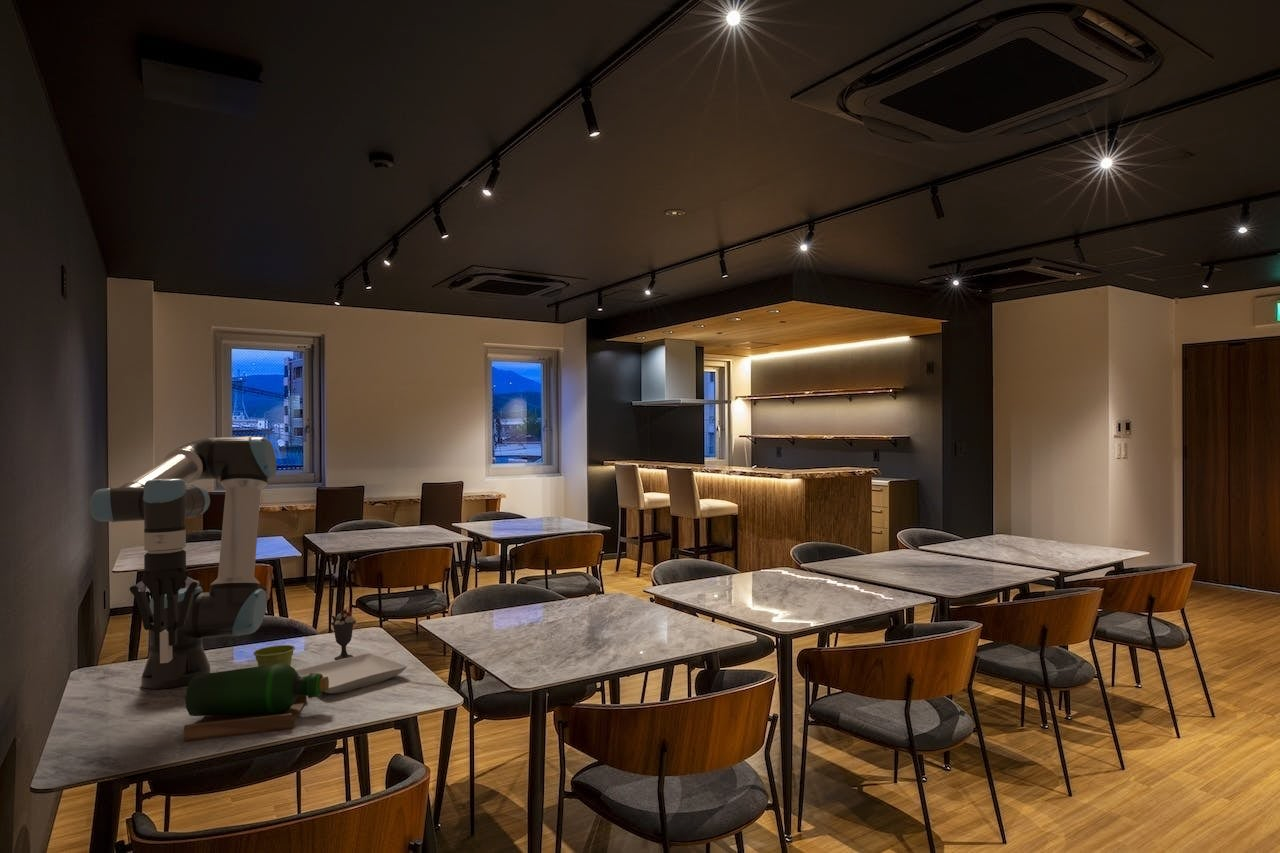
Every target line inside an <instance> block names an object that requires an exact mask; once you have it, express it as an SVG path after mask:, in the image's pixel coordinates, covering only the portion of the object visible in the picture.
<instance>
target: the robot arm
mask: <svg viewBox="0 0 1280 853" xmlns="http://www.w3.org/2000/svg"><path fill="white" fill-rule="evenodd" d="M276 472H277V458H276V451H275V449H274V445H273V444H272V443H271V441H270V440H269V439H268V438H267V437H265V436H252V435H249V436H231V437H229V436H228V437H227V436H226V437H225V436H224V437H216V436H215V437H205V438H202V439H201V438H200V439H197V440H193V441H191V442H189V443H187V444H184V445H182V446H180V447H178V448H176V449H173V450H171V451H170V452H168V454H167V455H166V456H165V457H164V459H163V461H161V462H160V463H158V464H157V465H154V466H153V467H151V468H150V469H148V470H145V471H144V472H142V473H141V474H139V475H138V476H136V477H134V478H133V479H131V480H129V481H128V482H126V483H124V484H123V485H121V486H118V487H108V488H107V487H106V488H100V489H96V490H95V491H94V492H93V494H92V495H91V497H90V500H89V511H90V514H91V516H92V518H93V519H94V520H95V521H97V522H105V523H106V522H108V523H109V522H111V523H116V522H117V523H120V522H136V521H139V522H141V521H143V524H144V525H143V528H144V529H143V543H144V544H143V546H144V547H143V548H144V551H145V552H146V553H145V554H144V555H143V559H144V561H143V563H144V564H143V565H144V567H143V568H144V573H143V576H142V577H141V581H139V582H137V583H136V584H134V585H132V586H130V587H129V592H130V593H131V594H132V595H133V596H134V598H135V601H136V604H137V608H138V611H139V615H140V619H141V622H142V625H143V628H144V630H146V631H148V632H149V633H148V635H149V636H148V638H149V639H148V640H149V641H148V642H149V652H148V653H149V655H148V656H147V657H148V658H147V659H146V662H145V667H144V668H143V672H142V675H141V687H142V688H144V689H148V690H149V689H151V690H163V689H171V688H177V687H183V686H188V685H189V682H190V681H191V679H192V678H193V677H194V676H195V675H200V674H208V673H211V664H210V661H209V659H208V657H207V654H206V652H205V649H204V647H203V638H205V639H206V638H207V639H208V638H220V637H221V638H222V637H239V636H244V635H250V634H253V633H255V632H256V631H258V629H259V628H260V627H261V625H262V624H263V621H264V618H265V615H266V612H267V606H268V605H267V604H268V599H267V597H268V595H267V592H266V590H265V589H263V588H261V583H260V581H259V580H258V579H257V578H256V577H255V570H256V569H255V568H256V557H257V546H258V545H257V544H258V531H259V518H260V517H259V516H260V506H261V494H262V493H261V492H262V490H263V489H264V488H265V487H267V486H268V480H269V479H272V478H274V477H275V476H276ZM197 480H198V481H199V480H220V481H219V484H220V485H221V486H222V487H223V488H224V490H225V494H224V504H223V505H224V507H223V514H222V515H223V516H222V530H221V540H220V548H219V549H220V551H219V562H218V572H217V578H216V579H215V580H214V581H212V582H211V583H210V587H209V591H207V592H203V591H204V590H203V588H202V587H201V581H200V580H198V579H197V580H195V579H193V578H191V577H189V575H190V574H189V573H188V571H187V551H186V550H185V549H184V548H186V547H187V541H186V540H187V535H186V531H187V530H186V522H187V521H186V519H194V518H198V516H200V515H203V514H204V513H206V511H208V509H209V507H210V504H211V498H210V494H209V492H208V491H207V489H206V488H204V487H202V486H200V485H195V484H191V483H193V482H195V481H197ZM184 585H185V587H184ZM182 587H184V588H182ZM147 589H148V590H149V591H150V593H151V594H152V598H151V599H150V601H149V598H148V596H147V593H146V590H147Z"/></svg>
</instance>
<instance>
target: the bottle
mask: <svg viewBox="0 0 1280 853" xmlns="http://www.w3.org/2000/svg"><path fill="white" fill-rule="evenodd" d="M296 671H297V670H296V669H295V667H293V666H289V665H287V664H285V663H281V664H274V665H266V666H259V667H258V666H253V667H245V668H239V669H238V668H237V669H232V670H231V669H230V670H223V671H222V670H221V671H216V672H210V673H208V674H200V675H195V676H194V677H193V678H192V679H191V681H190V682H189V684H188V685H187V687H186V690H185V698H184V701H185V708H186V711H187V712H188V715H189V716H192V717H204V716H212V715H239V714H266V713H283V712H285V711H286V710H288V709H289V708H291V706H292V705H293V703H294V702H295V701H296V699H297V698H298V696H307V698H309V699H312V698H316V697H319V696H322V695H323V692H325V693H326V692H327V691H328V687H329V679H328V677H323V675H322V674H317V673H310V674H309V676H303V677H299V675H298V673H297V672H296Z"/></svg>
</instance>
